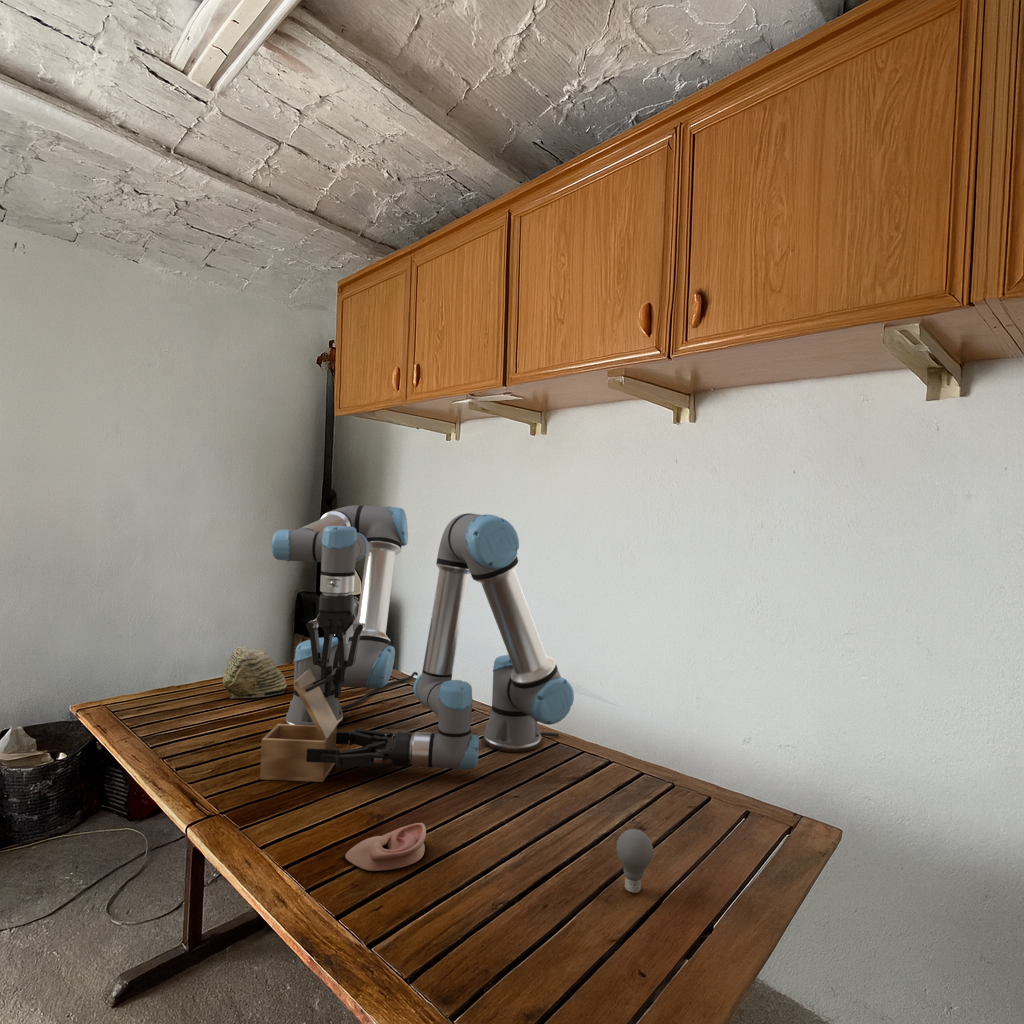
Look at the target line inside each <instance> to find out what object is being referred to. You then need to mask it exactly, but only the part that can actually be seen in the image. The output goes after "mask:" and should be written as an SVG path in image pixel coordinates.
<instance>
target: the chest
mask: <svg viewBox="0 0 1024 1024" xmlns="http://www.w3.org/2000/svg"><path fill="white" fill-rule="evenodd" d="M337 727H338V726H336V727H335V728H334V730H333V731H332V732H331V734H330V735H329V736H328V738H327V739H325V740H323V739H322V737H321V736H320V734H319V732H318V730H317V728H316V726H315V725H295V724H286V723H277V724H276V725H275V726H273V728H271V730H270V731H269V732H267V734H265V735H264V737H262V739H261V749H260V773H259V774H260V775H259V779H260V780H262V781H263V780H266V781H290V782H311V783H312V782H314V783H315V782H316V783H317V782H318V783H323V782H324V781H325V780H326V778H327V777H328V776H329V774H330V772H331V771H332V769H333V768H334V766H335V765H336V763H325V762H306V759H307V749H308V748H312V749H337V748H336V747H337V744H336V732H337Z"/></svg>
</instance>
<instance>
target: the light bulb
mask: <svg viewBox="0 0 1024 1024" xmlns="http://www.w3.org/2000/svg"><path fill="white" fill-rule="evenodd" d="M615 849H616V854H617V857H618V859H619V861H620V863H621V865H622V867H623V873H624V874H623V875H624V876H625V878H624V888H625V890H627V891H628V892H630V893H634V894H635V893H639V892H640V891H641V889H642V887H641V886H642V879H643V877H644V875H645V871H646V868H647V867H648V866H649V864H650V863H651V861H652V859H653V855H654V847H653V843H652V841H651V838H649V836H648V835H647V834H646V833H645V832H643V831H642V830H641V829H636V828H629V829H627V830H625V831H623V832H622V833H621V834H620V835H619V837H618V839H617V841H616V847H615Z"/></svg>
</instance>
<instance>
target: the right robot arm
mask: <svg viewBox="0 0 1024 1024" xmlns="http://www.w3.org/2000/svg"><path fill="white" fill-rule="evenodd" d="M519 549H520V539H519V535H518V532H517V530H516V528H515V527H514V526H513V524H511V522H510V521H508V520H506V519H505V518H503V517H499V516H498V515H494V514H478V513H471V512H470V513H469V512H468V513H461V514H459V515H457V516H455V517H453V518H452V519H451V520H450V521H449V522H448V523H447V525H446V527H445V528H444V530H443V533H442V536H441V538H440V542H439V545H438V551H437V557H436V566H437V568H438V576H437V581H436V586H435V593H434V599H433V606H432V612H431V617H430V622H429V623H430V624H429V628H428V636H427V641H426V648H425V653H424V659H423V665H422V671H421V674H418V675H417V678H416V679H415V681H414V682H413V686H412V689H413V694H414V696H415V698H416V699H417V700H418V701H419V703H420V704H422V705H423V706H424V707H426V708H427V709H429V710H430V711H431V712H432V713H434V714H435V715H436V716H437V717H438V718H437V719H438V721H437V723H438V724H437V733H436V732H423V731H421V732H420V731H415V732H414V733H412V732H410V731H397V732H396V733H395V734H394V733H393V732H392V731H389V732H388V731H378V730H370V729H364V728H357V727H356V728H354V729H353V730H351V731H336V745H347V746H353V745H357V746H360V747H358V748H352V749H345V750H340V748H336V749H312V748H308V749H307V759H306V762H325V763H335V767H336V769H348V768H360V767H361V768H362V767H382V766H383V762H384V761H387V760H391V761H392V762H391V764H392V766H393V767H397V768H409V766H411V767H412V768H421V770H424V769H426V768H427V769H429V768H430V769H432V768H434V769H450V770H473V769H475V768H477V766H478V764H479V752H480V751H479V749H480V736H479V735H478V734H474V733H472V730H471V729H472V728H471V725H472V711H473V700H474V699H473V687H472V685H471V684H470V682H468V681H463V680H460V679H453V672H454V665H455V661H456V654H457V648H458V643H459V637H460V631H461V626H462V625H461V624H462V620H463V614H464V608H465V603H466V595H467V590H468V585H469V578H470V576H471V579H472V580H473V581H475V582H477V583H480V584H481V586H482V589H483V592H484V594H485V597H486V599H487V603H488V604H489V607H490V610H491V612H492V615H493V617H494V620H495V623H496V625H497V628H498V631H499V634H500V636H501V639H502V641H503V644H504V646H505V649H506V652H507V654H503V655H500V656H497V657H495V658H494V661H493V666H492V667H493V669H492V696H491V697H492V698H491V713H490V715H489V718H488V721H487V724H486V726H485V729H484V732H483V742H484V744H485V745H486V746H487V747H488V748H491V749H493V750H496V751H499V752H500V751H501V752H506V753H525V752H530V751H533V750H535V749H537V748H539V747H540V746H541V744H542V737H543V736H544V737H556V738H558V737H559V733H558V732H557V733H556V732H544V731H541V730H540V726H539V723H541V724H543V725H549V726H550V725H555V724H558V723H560V722H562V720H564V719H565V718H566V717H567V715H568V714H569V713H570V711H571V708H572V706H573V704H574V701H575V690H574V687H573V685H572V684H571V683H570V681H568V679H567V678H564V677H562V676H561V673H560V671H559V668H558V665H557V662H556V661H555V659H554V658H553V657H551V656H549V655H547V654H546V650H545V648H544V645H543V643H542V640H541V637H540V634H539V631H538V629H537V626H536V623H535V621H534V618H533V615H532V612H531V610H530V607H529V604H528V602H527V599H526V596H525V594H524V591H523V590H524V589H523V588H522V585H521V583H520V579H519V576H518V575H517V571H516V570H517V567H518V565H519V564H520V561H519V558H518V550H519Z"/></svg>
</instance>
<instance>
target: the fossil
mask: <svg viewBox="0 0 1024 1024" xmlns="http://www.w3.org/2000/svg"><path fill="white" fill-rule="evenodd" d="M222 676H223V677H222V685H223V687H224V688H225V690H226V691H228V693H229V698H230V699H250V698H264V697H271V696H275V695H281V694H284V693H285V691H286V689H287V687H288V686H287V680H286V678H285V676H284V674H283V673H282V672H281V669H279V668H278V667H277V665H276V663H275V662H274V660H273V659H272V658H271V657H270V656H269V655H268V654H267V653H266V652H265V650H264V649H263V648H260V647H258V648H251V647H247V646H246V647H245V646H238V647H237V648H236V649H235V650H233V651H232V653H231V656H230V657H229V659H228V660H227V663H226V666H225V668H224V671H223V675H222Z"/></svg>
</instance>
